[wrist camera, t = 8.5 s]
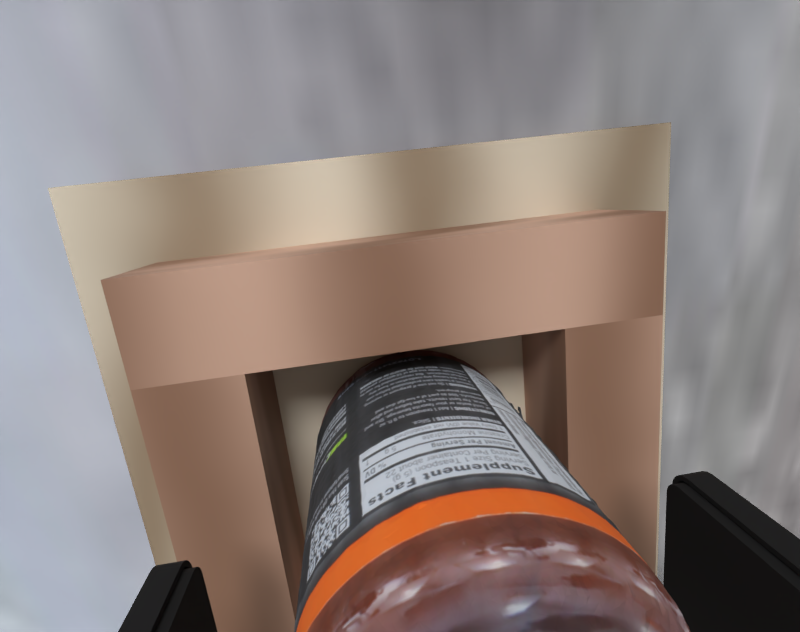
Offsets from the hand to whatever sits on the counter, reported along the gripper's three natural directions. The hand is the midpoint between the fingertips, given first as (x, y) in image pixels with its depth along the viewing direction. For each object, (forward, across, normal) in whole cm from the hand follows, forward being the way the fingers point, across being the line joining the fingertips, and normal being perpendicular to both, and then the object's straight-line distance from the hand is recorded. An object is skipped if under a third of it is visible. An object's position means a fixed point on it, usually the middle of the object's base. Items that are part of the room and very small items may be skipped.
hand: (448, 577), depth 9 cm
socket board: (+7, 0, 0) cm, 7 cm away
